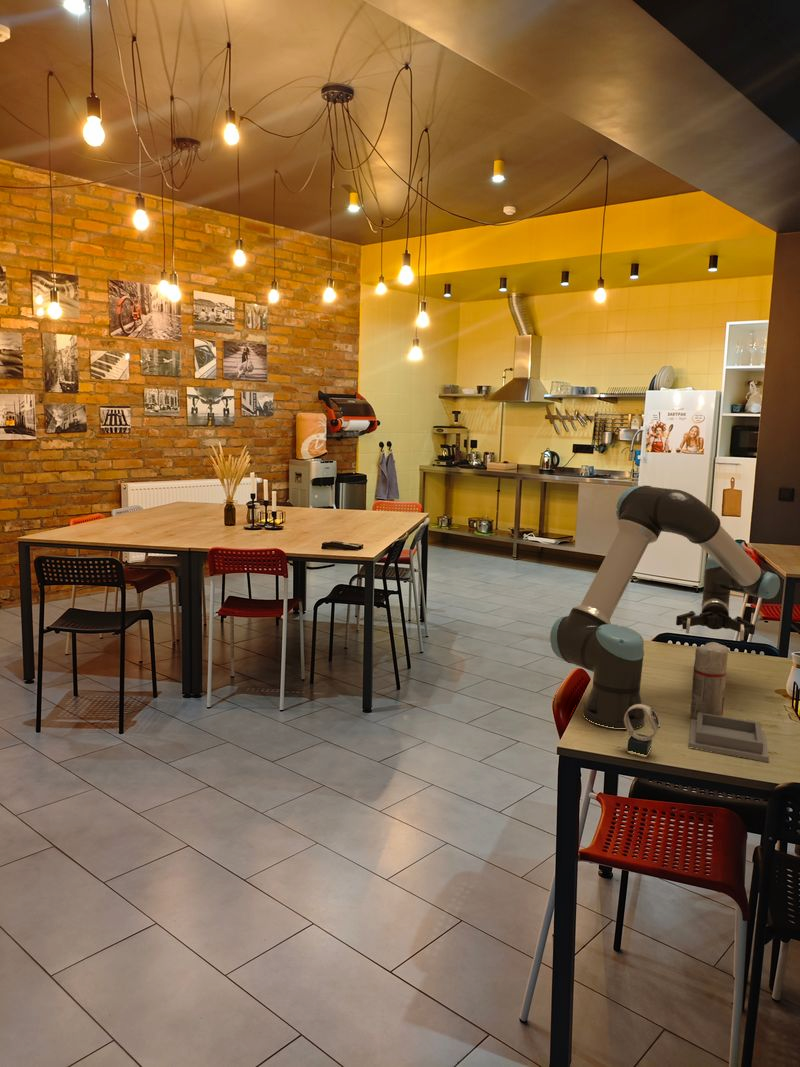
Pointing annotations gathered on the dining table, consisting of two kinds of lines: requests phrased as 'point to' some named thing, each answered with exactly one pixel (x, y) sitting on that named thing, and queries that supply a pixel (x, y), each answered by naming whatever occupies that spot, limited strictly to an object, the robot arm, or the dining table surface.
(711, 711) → the beige textured cylinder
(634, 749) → the watch
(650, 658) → the dining table surface
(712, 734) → the holder dock
